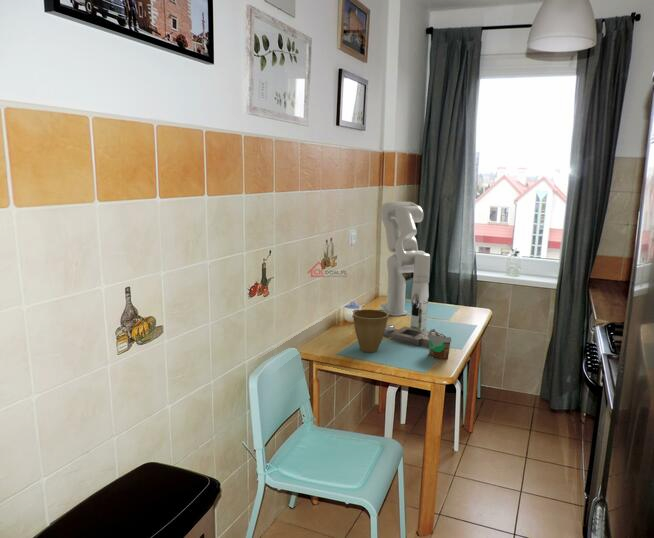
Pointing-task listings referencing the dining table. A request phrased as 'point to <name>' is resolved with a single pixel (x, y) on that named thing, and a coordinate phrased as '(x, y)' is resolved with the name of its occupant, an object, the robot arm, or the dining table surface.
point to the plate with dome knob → (390, 330)
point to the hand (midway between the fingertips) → (419, 313)
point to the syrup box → (420, 317)
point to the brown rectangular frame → (419, 338)
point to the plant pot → (370, 328)
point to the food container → (438, 345)
